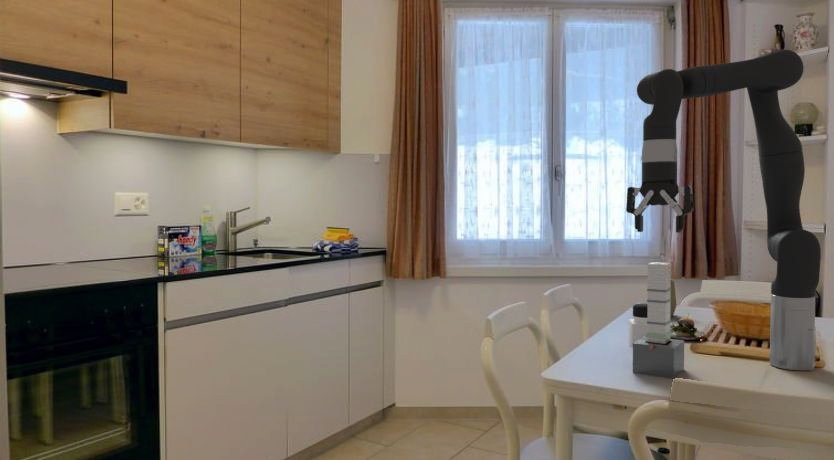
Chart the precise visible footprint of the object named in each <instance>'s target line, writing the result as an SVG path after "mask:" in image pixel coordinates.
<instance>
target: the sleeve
mask: <svg viewBox="0 0 834 460" xmlns="http://www.w3.org/2000/svg"><path fill="white" fill-rule="evenodd" d="M684 370H685V339H676V338H670V341H669V342H668V343H666V344H661V343H653V342H647V338H646V336H644V337H642V338H641V339H639V340H637V341H636V342H634V343H633V347H632V374H640V375H644V376H646V375H647V376H652V377H659V378H665V379H671V380H672V379H673V380H675V378H676V377H678V376H679V375H680V374H681V373H682V372H683V371H684Z"/></svg>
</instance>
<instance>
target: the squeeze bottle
mask: <svg viewBox="0 0 834 460" xmlns="http://www.w3.org/2000/svg"><path fill="white" fill-rule="evenodd" d="M675 286H676V285H675V281H674V280H673V279H671V301H670V317H673V316H674V315H675V312H676V308H677V306H678V305H677V296H676V287H675Z"/></svg>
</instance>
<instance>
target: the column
mask: <svg viewBox="0 0 834 460" xmlns="http://www.w3.org/2000/svg"><path fill="white" fill-rule="evenodd" d="M671 264H672V263H671V262H661V261H660V262H657V261H654V262H653V261H652V262H649V263H647V288H646V291H647V299H646V302H647V303H648V312H647V336H646V338H647V342H653V343H661V344H666V343H668V342H669V341H670V339H671V338H672V337H671V331H670V329H671V328H670V326H671V324H672V323H671V322H672V320H671V316H670V301H671V280H672V272H671V271H672V265H671Z"/></svg>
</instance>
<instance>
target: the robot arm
mask: <svg viewBox="0 0 834 460" xmlns="http://www.w3.org/2000/svg"><path fill="white" fill-rule="evenodd" d="M803 62H804V61H803V60H802V58H801V56H800V55H799V54H798V53H796V52H795V51H793V50H790V49H778V50H773V51H770V52H768V53H765V54H762V55H760V56H757V57H754V58H750V59H746V60H741V61H740V60H739V61H733V62H726V63H717V64H716V63H714V64H707V65H699V66H692V67H688V68H684V69H681V70H675V69H672V68H665V69H661V70H657V71H655V72H653V73H649V74H646V75H645V76H644V77H642V78H641V79H640V80H639V82H638V84H637V86H636V95H637V97H638V99H639V100H640V101H641V102H643V103H644V104H647V105H650V106H651V105H652V106H653V107H652V110H651V112H650V113H649V114H648V115H646V116H645V117H644V119H643V123H642V149H641V159H640V160H641V186H640V187H635V186H629V187H627V190H626V191H627V193H626V208H625V211H626V213H629V214H631V215H634V228H635V230H637V233H642V232H644V215H643V213H644V212H645V211H646V209H647V208H648V207H650V206H658V205H659V206H668V205H669V207H670V208H671V209H672V210H673V211H674V212H675V214H676V216H675V233H679V234H681V233H682V231H684V230H685V223H686V222H685V221H686V219H685V218H686V215H688V214H691V213H693V212H694V211H695V210H694V209H695V206H694V193H693V190H694V189H693V186H691V185H685V186H679V185H678V147H677V145H678V144H677V119H678V115H679V113H680V109H681V105H682V100H686V99H689V100H690V99H697V98H703V97H704V98H705V97H712V96H717V95H721V94H726V93H730V92H733V91H738V90H741V89H742V90H743V89H746V91H747V94H748V99H749V102H750V107H751V111H752V116H753V121H754V128H755V129H754V130H755V135H756V141H757V150H758V151H757V152H758V161H759V170H760V175H761V181H762V189H763V195H764V201H765V207H766V208H765V209H766V220H767V221H766V227H767V228H766V231H767V232H766V235H767V236H766V238H767V239H766V242H767V245H766V246H767V251H768V254H769V255H770V257H771V258H772V259H773V260H774V261H775V262H776V276H775V279H774V280H773V281H772V282H771V284H770V326H769V327H770V333H769V364H770V365H771V366H773V367H775V368H780V369H784V370H790V371H811V372H812V371H814V369H815V367H816V338H817V337H816V332H817V331H816V330H817V329H816V328H817V327H816V326H815V325H816V291H817V287H818V286H819V283H820V275H821V274H820V273H821V260H822V259H821V258H822V255H821V254H822V253H821V251H822V250H821V249H822V248H821V244H820V241H819V239H818V237H817V236H816V235H815V234H814V233H812V232H811V231H809V230H806V229H804V227H803V224H802V218H801V209H800V202H801V195H802V191H803V185H804V180H805V172H806V171H805V168H806V167H805V159H804V158H805V157H804V151H803V144H802V142H801V140H800V138H799V136H798V134H797V133H796V132H795V130H794V129H793V128H792V127H791V125H790V124H789V123H788V121H787V120H786V119H785V117H784V114H783V113H782V111H781V105H780V101H779V100H780V99H779V91H783V90H785V89H789V88H791V87H793V86H794V85H797V83H799V81H800V80H801V78H802V77H803V74H804V67H805V66H804V63H803ZM639 193H640V195H641V196H642V197H643V199H641V201H640V203H639V204H638V206H637V207H635V206H636V197H638V196H639ZM679 193H681V196H684V208H683V207H682V206H681V204H680V202H679V201H678V200H677V198H676V196H677V195H678V194H679Z"/></svg>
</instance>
